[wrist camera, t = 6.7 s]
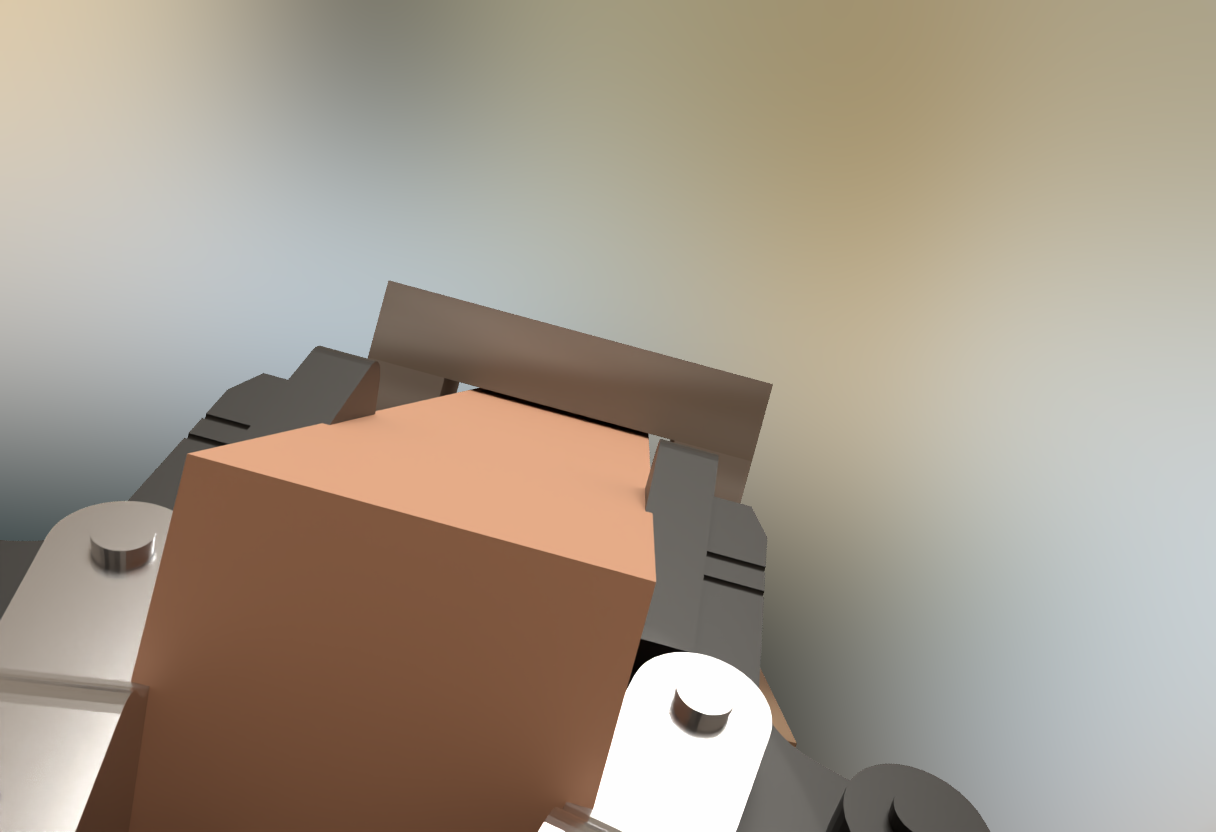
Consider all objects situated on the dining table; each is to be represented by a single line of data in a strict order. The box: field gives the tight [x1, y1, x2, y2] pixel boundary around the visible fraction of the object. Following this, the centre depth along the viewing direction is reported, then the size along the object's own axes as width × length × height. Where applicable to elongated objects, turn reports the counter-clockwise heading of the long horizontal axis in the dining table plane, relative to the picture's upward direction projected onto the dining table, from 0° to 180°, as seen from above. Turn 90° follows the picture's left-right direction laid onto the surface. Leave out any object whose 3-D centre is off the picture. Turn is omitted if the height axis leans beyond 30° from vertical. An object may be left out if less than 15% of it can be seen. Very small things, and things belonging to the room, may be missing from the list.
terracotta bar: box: [129, 388, 656, 832], centre depth 16 cm, size 16×4×4 cm, turn 179°
